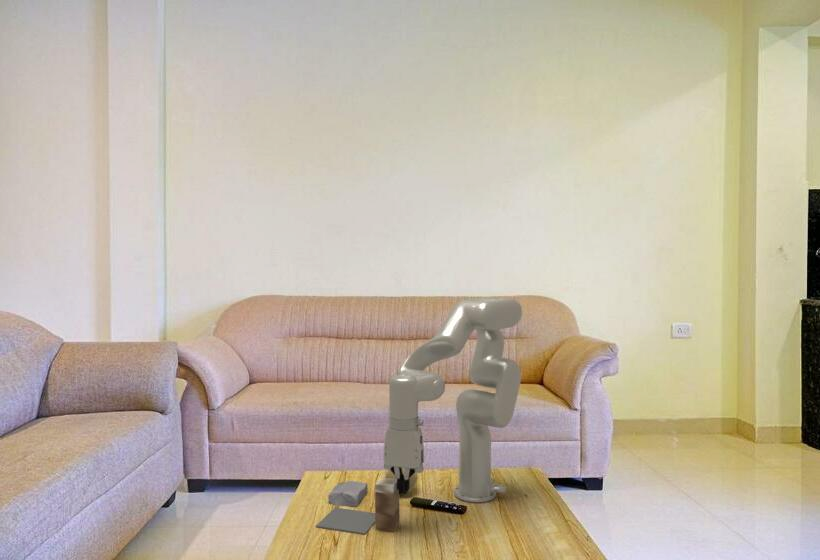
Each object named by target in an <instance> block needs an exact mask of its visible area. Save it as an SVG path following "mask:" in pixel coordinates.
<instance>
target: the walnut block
mask: <svg viewBox="0 0 820 560" xmlns="http://www.w3.org/2000/svg"><path fill="white" fill-rule="evenodd" d="M374 508H375V509H374V513H375V526H374V527H375V529H374V530H375V531H381V532H389V533H394V532H396V529H397V528H398V527H399V525H400V520H401V519H400V494H399V490H397V479H390V478H385V477H381V478H379V479H378V480H377V481H376V482H375V484H374Z"/></svg>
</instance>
